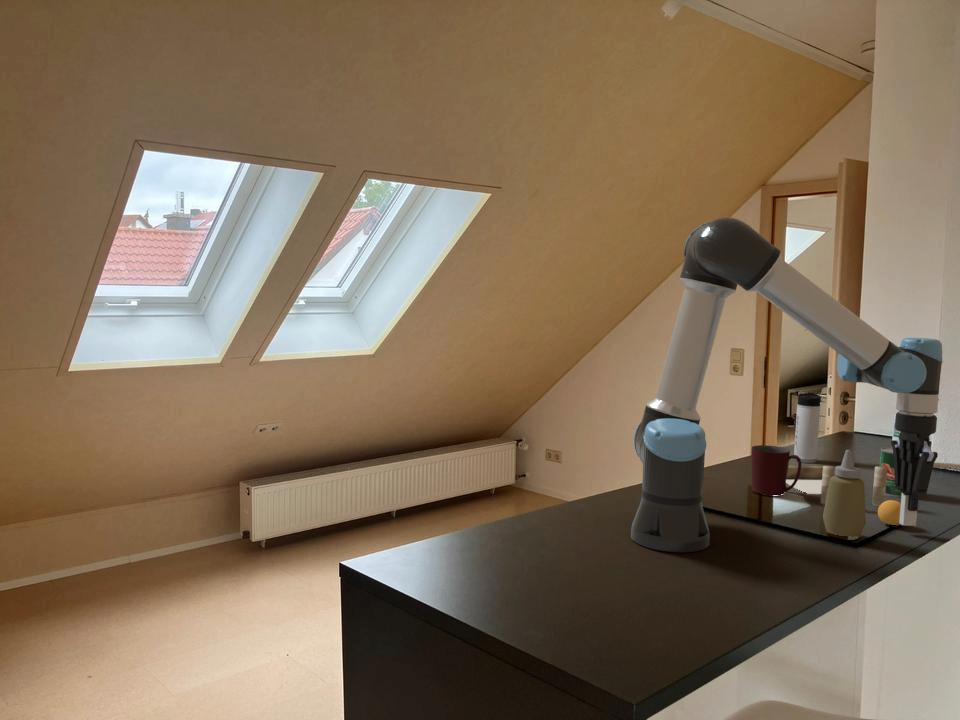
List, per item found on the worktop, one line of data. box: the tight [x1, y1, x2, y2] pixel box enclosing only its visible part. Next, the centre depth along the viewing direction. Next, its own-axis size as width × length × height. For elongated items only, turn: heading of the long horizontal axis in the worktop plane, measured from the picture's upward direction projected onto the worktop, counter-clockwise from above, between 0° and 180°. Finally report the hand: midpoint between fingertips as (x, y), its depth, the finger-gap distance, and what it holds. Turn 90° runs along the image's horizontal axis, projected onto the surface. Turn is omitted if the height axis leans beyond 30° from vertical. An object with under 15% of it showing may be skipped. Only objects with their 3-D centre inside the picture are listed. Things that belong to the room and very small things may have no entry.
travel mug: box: [793, 392, 822, 464], centre depth 234 cm, size 6×7×20 cm
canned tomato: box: [879, 446, 901, 498], centre depth 199 cm, size 8×8×11 cm
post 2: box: [871, 465, 887, 507], centre depth 188 cm, size 3×3×9 cm
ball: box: [877, 499, 901, 527], centre depth 172 cm, size 6×6×6 cm
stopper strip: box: [786, 465, 824, 480], centre depth 213 cm, size 16×2×3 cm, turn 93°
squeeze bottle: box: [822, 449, 866, 537], centre depth 162 cm, size 8×8×18 cm
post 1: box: [820, 465, 836, 503], centre depth 187 cm, size 3×3×9 cm
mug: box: [750, 444, 802, 495], centre depth 195 cm, size 12×9×11 cm
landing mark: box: [786, 479, 822, 495], centre depth 204 cm, size 14×14×1 cm
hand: (907, 524), depth 166 cm, fingers closed
